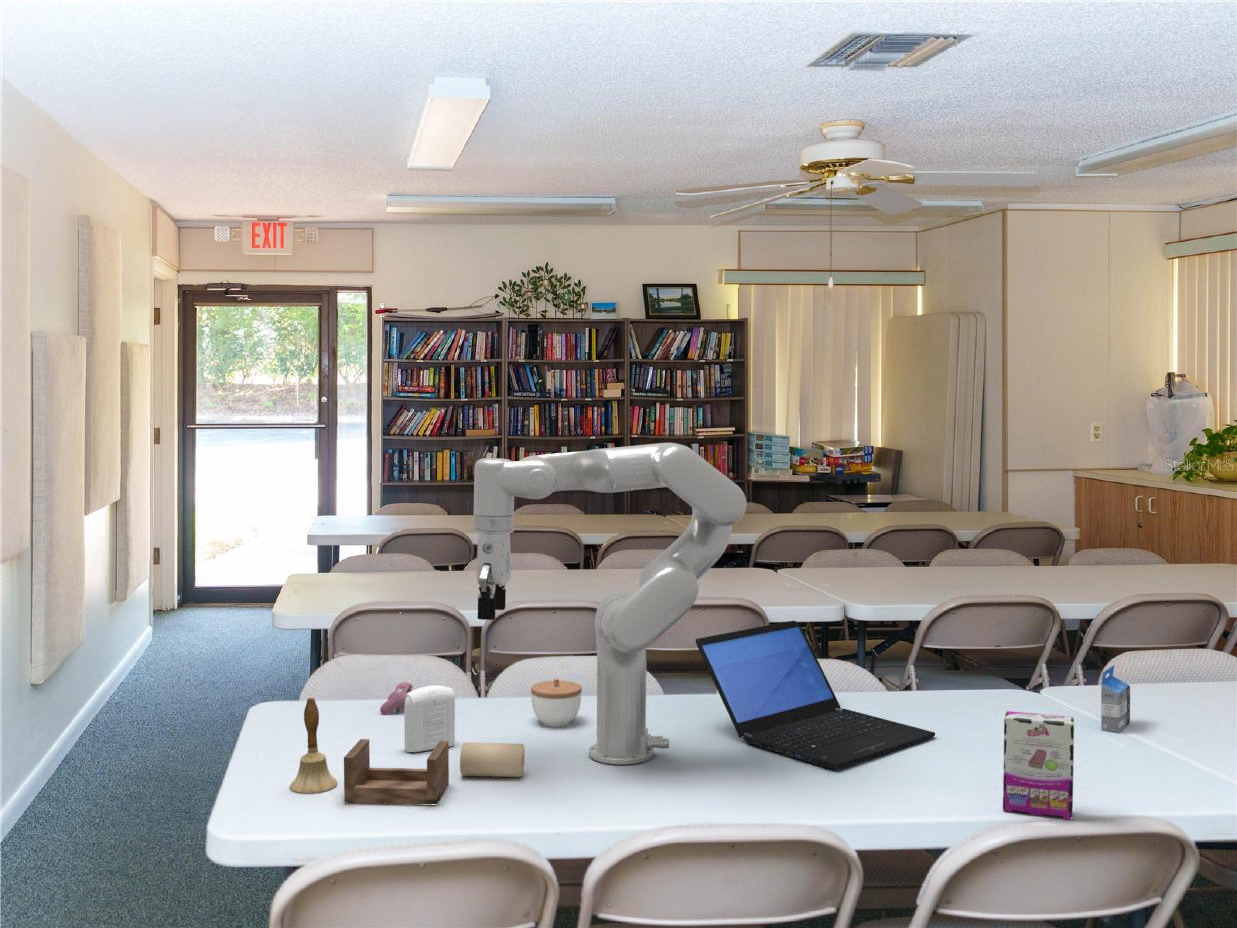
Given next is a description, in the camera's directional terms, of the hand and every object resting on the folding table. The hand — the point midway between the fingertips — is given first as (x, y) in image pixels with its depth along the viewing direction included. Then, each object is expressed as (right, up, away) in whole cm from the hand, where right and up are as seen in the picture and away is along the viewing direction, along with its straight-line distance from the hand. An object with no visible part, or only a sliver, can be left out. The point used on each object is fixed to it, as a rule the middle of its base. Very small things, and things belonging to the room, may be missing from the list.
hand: (491, 614), depth 222 cm
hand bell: (-31, -30, -11) cm, 44 cm away
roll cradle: (-15, -30, -15) cm, 36 cm away
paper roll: (+1, -29, -5) cm, 30 cm away
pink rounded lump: (-25, -26, +38) cm, 53 cm away
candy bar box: (+95, -31, -23) cm, 102 cm away
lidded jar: (+11, -27, +28) cm, 40 cm away
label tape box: (+129, -27, +26) cm, 134 cm away
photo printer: (-13, -28, +11) cm, 33 cm away
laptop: (+64, -28, +21) cm, 73 cm away
